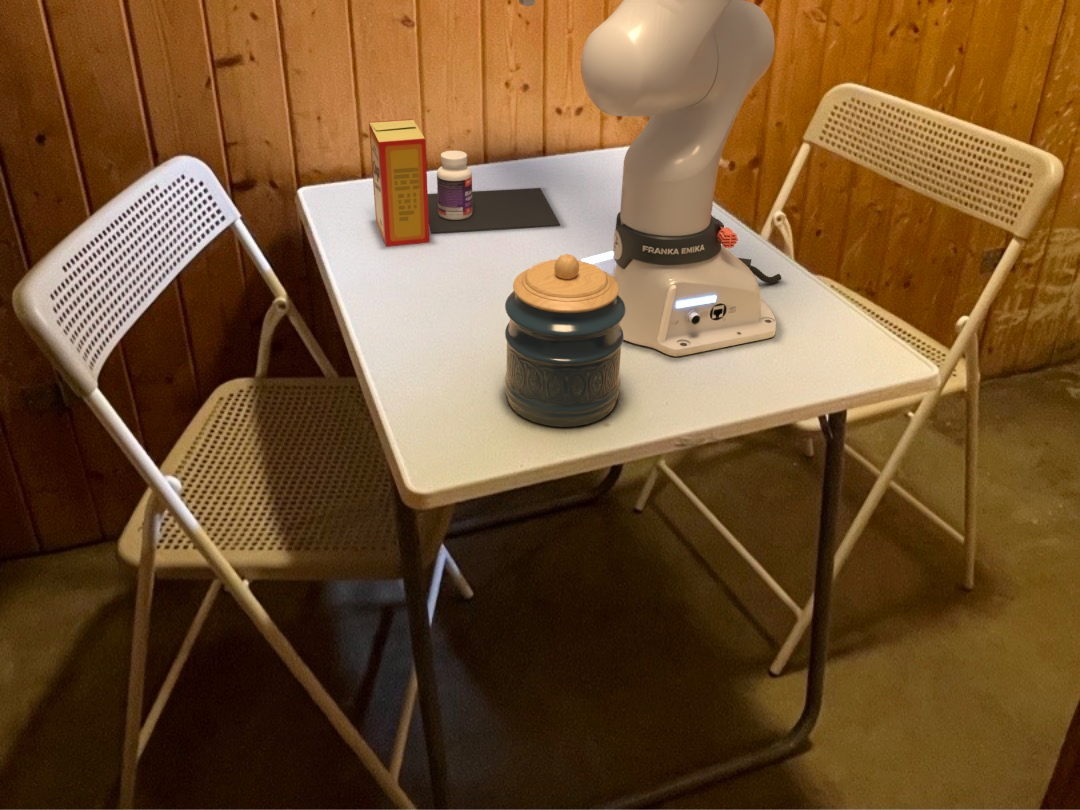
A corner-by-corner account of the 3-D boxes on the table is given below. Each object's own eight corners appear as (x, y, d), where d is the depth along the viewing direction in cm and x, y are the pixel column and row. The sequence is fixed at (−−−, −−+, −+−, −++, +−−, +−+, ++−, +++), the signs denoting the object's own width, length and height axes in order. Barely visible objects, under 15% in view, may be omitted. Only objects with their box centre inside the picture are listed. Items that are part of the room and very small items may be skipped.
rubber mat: (540, 189, 170) (540, 187, 169) (560, 226, 157) (560, 224, 157) (421, 196, 166) (420, 194, 166) (431, 233, 153) (431, 232, 153)
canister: (530, 440, 108) (533, 291, 98) (488, 380, 118) (487, 240, 108) (638, 415, 112) (651, 271, 103) (589, 360, 122) (596, 224, 113)
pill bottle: (472, 221, 157) (471, 160, 152) (437, 221, 156) (435, 160, 151) (472, 208, 161) (471, 148, 156) (438, 208, 161) (436, 148, 156)
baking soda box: (429, 242, 151) (425, 136, 142) (386, 246, 149) (378, 139, 140) (417, 218, 158) (412, 116, 150) (375, 222, 157) (368, 119, 148)
